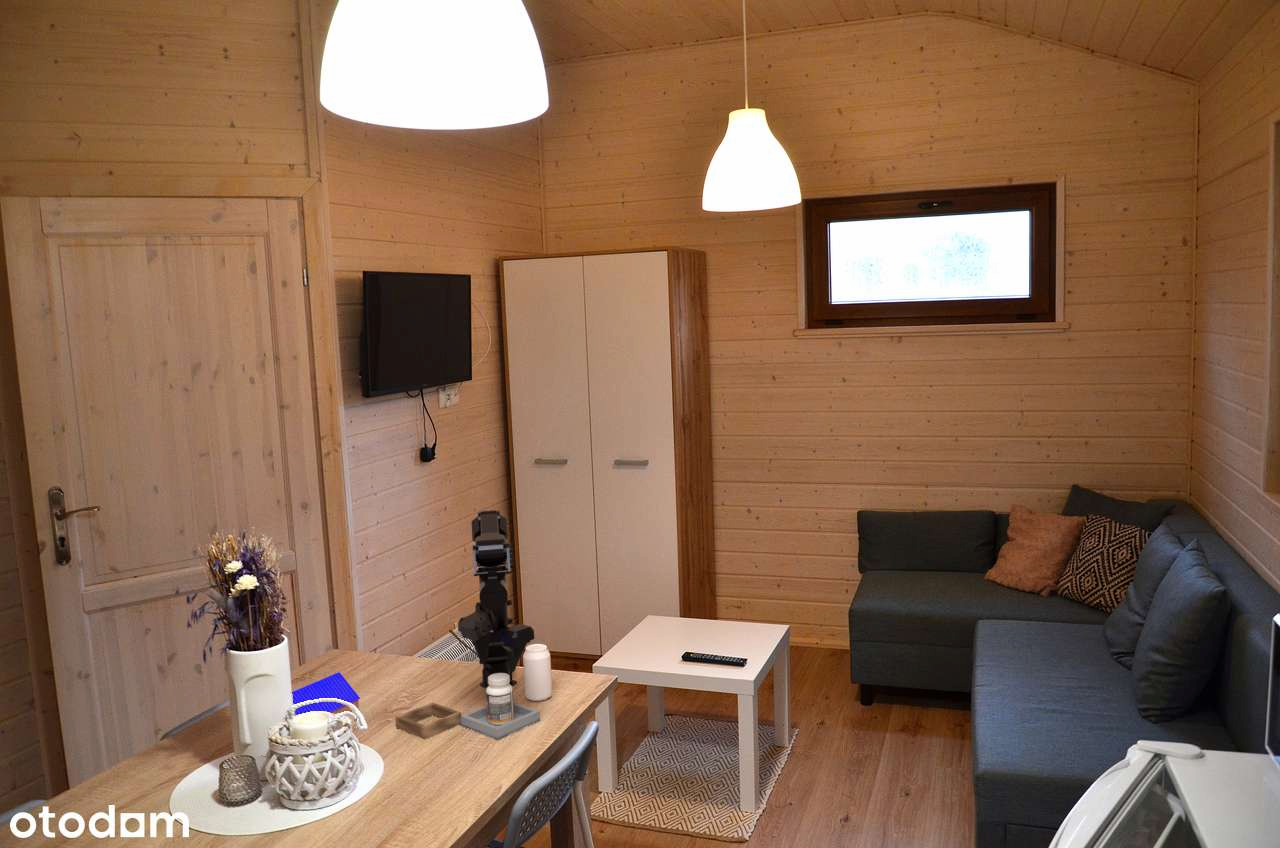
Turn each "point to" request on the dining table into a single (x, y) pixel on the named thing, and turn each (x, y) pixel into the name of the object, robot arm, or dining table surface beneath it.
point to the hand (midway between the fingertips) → (497, 667)
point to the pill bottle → (499, 699)
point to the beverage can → (537, 672)
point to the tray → (480, 724)
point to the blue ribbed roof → (326, 695)
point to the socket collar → (426, 731)
